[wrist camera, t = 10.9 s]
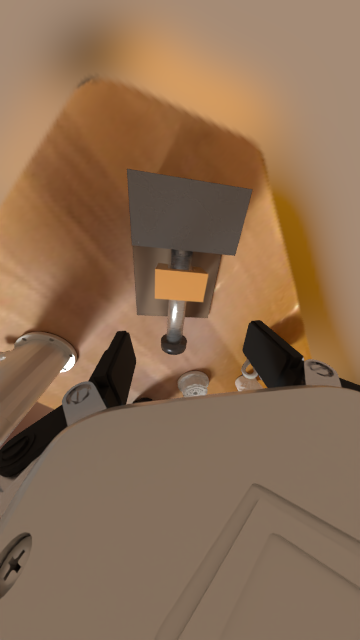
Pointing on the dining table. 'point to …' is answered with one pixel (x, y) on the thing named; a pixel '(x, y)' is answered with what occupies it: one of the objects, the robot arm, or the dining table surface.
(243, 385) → the white cup
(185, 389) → the mechanical component
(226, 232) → the block
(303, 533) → the robot arm
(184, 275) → the block
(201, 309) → the base board
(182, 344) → the shaft
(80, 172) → the dining table surface
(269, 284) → the dining table surface
